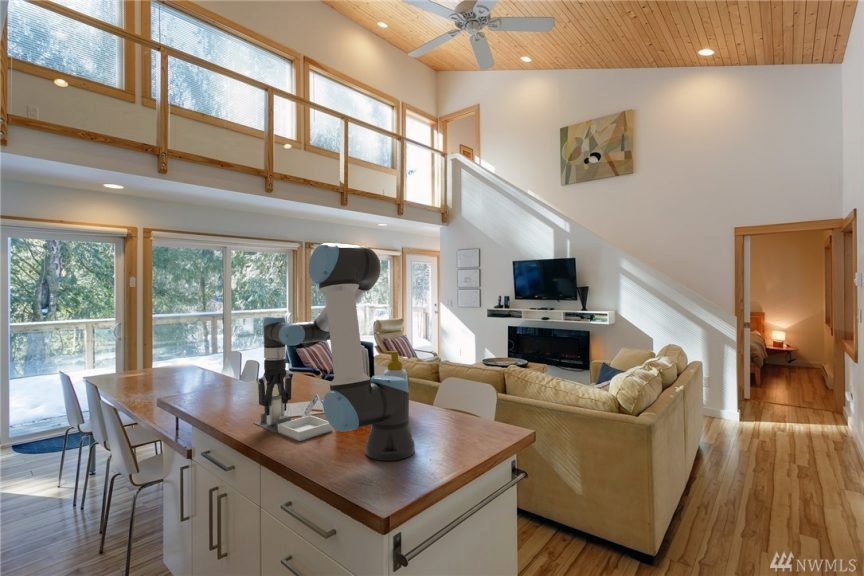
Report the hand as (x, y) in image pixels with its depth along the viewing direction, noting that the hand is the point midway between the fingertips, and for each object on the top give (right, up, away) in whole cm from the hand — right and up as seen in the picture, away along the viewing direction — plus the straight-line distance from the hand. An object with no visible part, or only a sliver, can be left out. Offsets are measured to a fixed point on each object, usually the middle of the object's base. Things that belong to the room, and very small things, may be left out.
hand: (275, 421), depth 158 cm
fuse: (0, 0, 0) cm, 0 cm away
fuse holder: (0, -1, 0) cm, 1 cm away
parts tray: (+13, -1, -7) cm, 15 cm away
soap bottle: (+43, -1, +12) cm, 45 cm away
